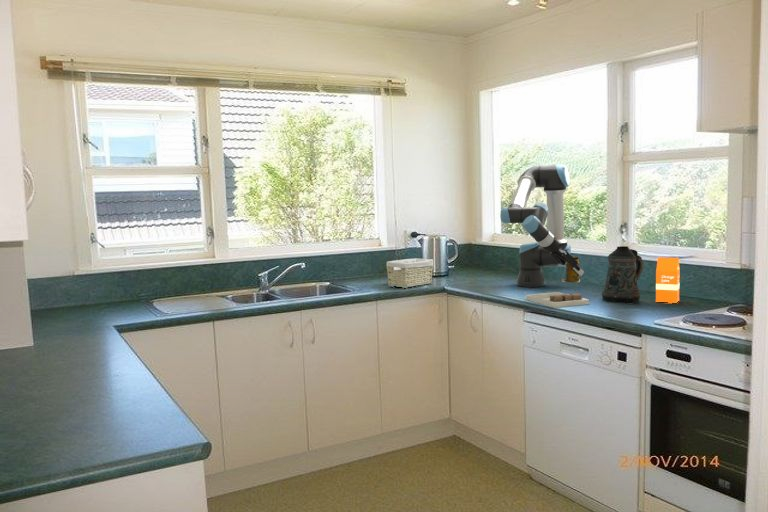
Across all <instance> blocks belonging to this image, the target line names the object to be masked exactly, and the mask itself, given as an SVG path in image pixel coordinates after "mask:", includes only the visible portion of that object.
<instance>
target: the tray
mask: <svg viewBox="0 0 768 512" xmlns="http://www.w3.org/2000/svg"><path fill="white" fill-rule="evenodd" d="M565 294H567V295H569V294H570V293H569V294H568V293H564V292H560V291H555V292H545V293H544V292H543V293H534V294H533V293H532V294H526V295H525V300H527V301H530V302H534V303H537V304H540V305H544V306H548V307H550V308H555V309H556V308H564V307H573V306H583V305H589V304H590V299H588V298H584V297H582V300H573V301H563V302H552V301H550V296H555V295H565Z"/></svg>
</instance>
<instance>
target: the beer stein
mask: <svg viewBox="0 0 768 512" xmlns="http://www.w3.org/2000/svg"><path fill="white" fill-rule="evenodd" d="M607 260H608V266H607V273H606V279H605V281H604V282H605V284H604V287H603V289H602V291H601V296H602V300H603V301H604V302H607V303H619V304H620V303H621V304H622V303H623V304H626V303H633V304H636V303H635V302H638V301H639V302H640V297H641V293H640V291H639V290H640V289H639V287H638V286H639V285H638V280H639V279H640V277H641V275H642V273H643V270H644V261H643V259H642V256H640V255H638V251H637V250H636V249H632V248H629V246H625V245H623V246H617V247H616V249H614V251H612V252H611V253H609V255H607ZM639 302H638V303H639Z"/></svg>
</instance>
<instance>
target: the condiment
mask: <svg viewBox="0 0 768 512" xmlns="http://www.w3.org/2000/svg"><path fill="white" fill-rule="evenodd" d="M571 256H572V257H573V258H574V259H575V260H576V261H577V262H578V264H577V265H578V266H579V267H580V262H579V256H578V255H577V256H576V255H575V256H574V255H571ZM565 270H566V271H565V275H566V276H565V279H564V278H561V283H580V282H581V279H580V276H579V274H578V273H577V272H576V271H575V270H574V269H572V266H571V265H570V264H568V263H567V262H566V268H565Z"/></svg>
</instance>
